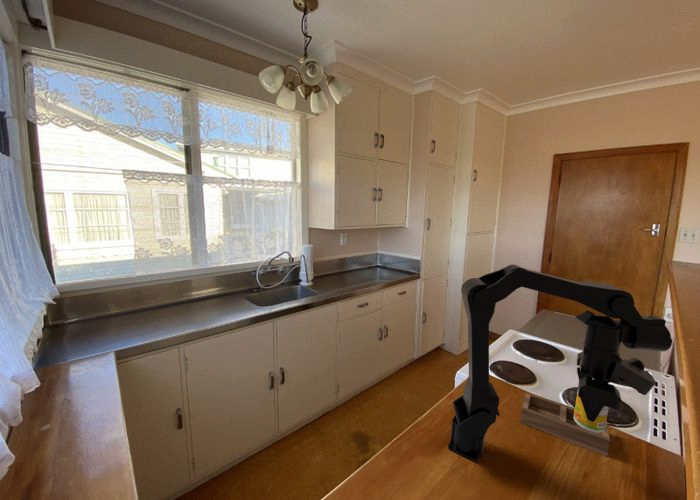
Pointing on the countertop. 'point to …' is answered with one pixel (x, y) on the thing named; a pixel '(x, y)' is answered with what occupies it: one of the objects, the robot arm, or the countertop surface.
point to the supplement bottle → (584, 422)
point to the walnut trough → (561, 423)
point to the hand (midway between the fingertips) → (590, 413)
